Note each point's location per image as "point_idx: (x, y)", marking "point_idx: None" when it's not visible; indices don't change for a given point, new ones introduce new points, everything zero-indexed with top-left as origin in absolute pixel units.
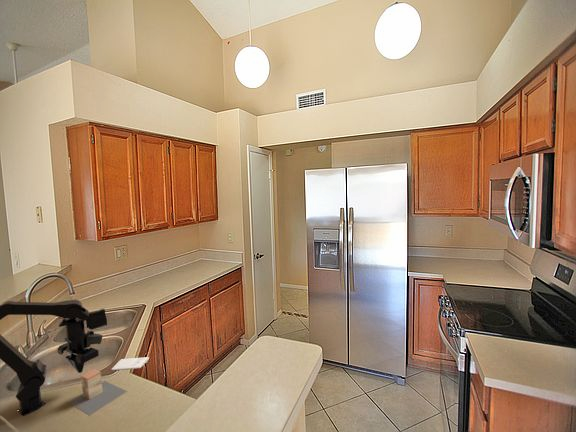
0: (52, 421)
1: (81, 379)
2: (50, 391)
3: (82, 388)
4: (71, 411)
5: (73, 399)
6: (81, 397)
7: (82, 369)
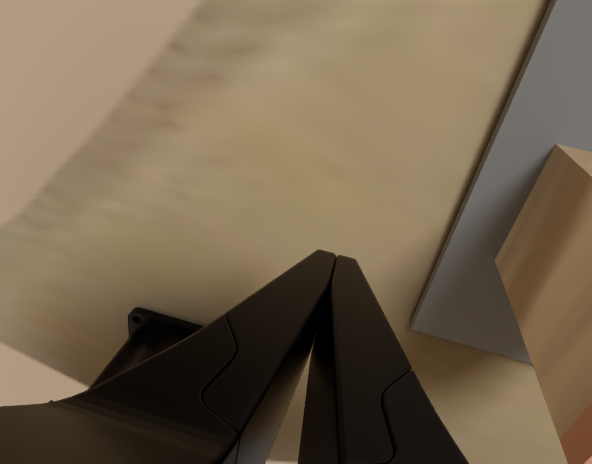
0: (469, 443)
1: (554, 415)
2: (97, 223)
3: (514, 312)
4: (533, 382)
5: (432, 302)
6: (491, 275)
7: (364, 285)
